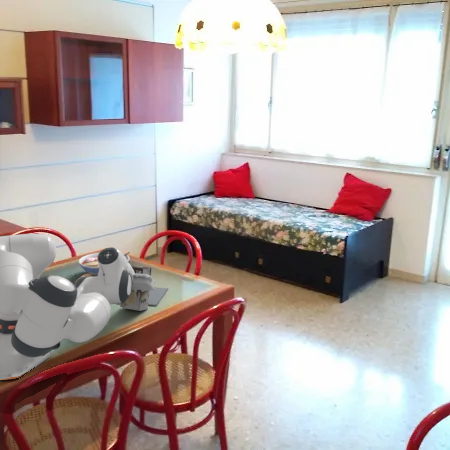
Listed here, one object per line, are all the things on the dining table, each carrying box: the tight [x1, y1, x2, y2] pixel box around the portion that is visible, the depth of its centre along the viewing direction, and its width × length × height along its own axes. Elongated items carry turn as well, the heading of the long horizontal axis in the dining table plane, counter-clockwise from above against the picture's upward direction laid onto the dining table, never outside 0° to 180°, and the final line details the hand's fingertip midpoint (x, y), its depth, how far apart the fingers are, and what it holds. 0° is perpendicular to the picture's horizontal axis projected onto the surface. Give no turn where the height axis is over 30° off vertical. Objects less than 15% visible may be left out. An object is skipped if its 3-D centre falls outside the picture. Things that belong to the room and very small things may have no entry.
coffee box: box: [119, 264, 152, 312], centre depth 197 cm, size 9×6×16 cm
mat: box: [148, 286, 169, 307], centre depth 211 cm, size 18×16×1 cm
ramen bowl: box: [78, 251, 131, 276], centre depth 235 cm, size 25×23×8 cm
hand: (132, 290), depth 193 cm, fingers closed
